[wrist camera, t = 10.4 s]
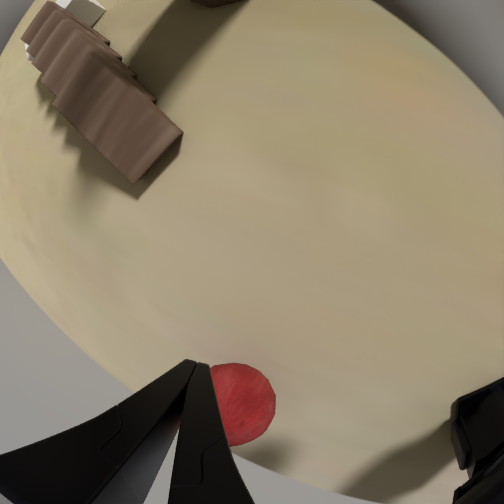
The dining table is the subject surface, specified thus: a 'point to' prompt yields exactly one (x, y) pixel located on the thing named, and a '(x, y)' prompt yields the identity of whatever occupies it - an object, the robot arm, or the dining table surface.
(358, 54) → the dining table surface
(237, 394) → the onion
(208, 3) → the beer bottle
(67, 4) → the end block
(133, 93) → the domino
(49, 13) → the domino
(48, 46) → the domino
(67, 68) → the domino
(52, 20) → the domino
